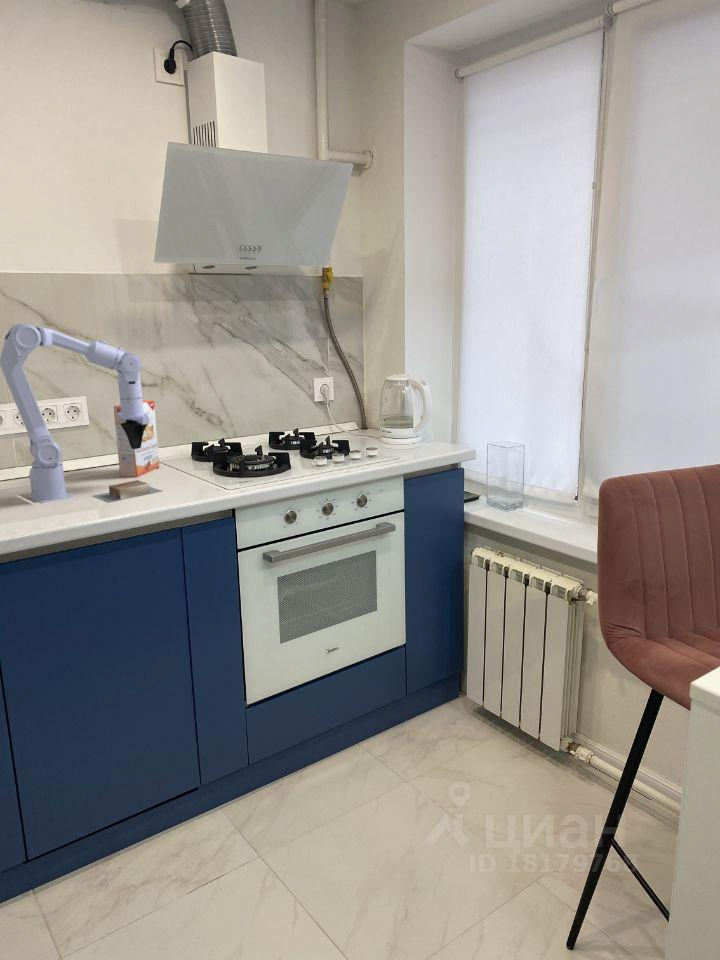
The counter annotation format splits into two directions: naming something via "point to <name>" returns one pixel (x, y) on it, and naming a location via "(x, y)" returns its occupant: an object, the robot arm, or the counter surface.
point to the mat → (109, 498)
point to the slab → (129, 489)
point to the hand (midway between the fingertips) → (136, 448)
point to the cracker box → (141, 458)
